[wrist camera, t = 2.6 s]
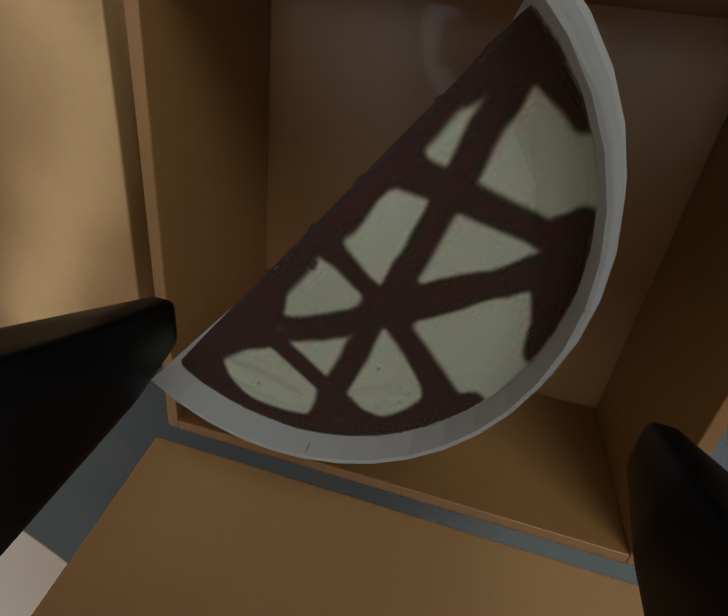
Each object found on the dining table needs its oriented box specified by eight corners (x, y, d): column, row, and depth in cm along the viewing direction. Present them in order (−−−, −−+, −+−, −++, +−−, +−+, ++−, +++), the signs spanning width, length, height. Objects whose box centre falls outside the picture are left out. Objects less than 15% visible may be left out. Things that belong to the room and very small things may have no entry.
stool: (-2, 262, 26) (-102, 301, 22) (-97, -84, 19) (-272, -125, 15) (213, 316, 24) (147, 372, 20) (197, -55, 17) (89, -93, 13)
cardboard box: (600, 412, 21) (639, 568, 14) (261, 326, 24) (168, 425, 17) (784, 9, 14) (1020, -34, 7) (266, -44, 16) (110, -109, 10)
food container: (392, 353, 22) (312, 545, 13) (294, 253, 21) (140, 390, 12) (659, 160, 16) (836, 284, 7) (539, 8, 15) (574, -62, 6)
